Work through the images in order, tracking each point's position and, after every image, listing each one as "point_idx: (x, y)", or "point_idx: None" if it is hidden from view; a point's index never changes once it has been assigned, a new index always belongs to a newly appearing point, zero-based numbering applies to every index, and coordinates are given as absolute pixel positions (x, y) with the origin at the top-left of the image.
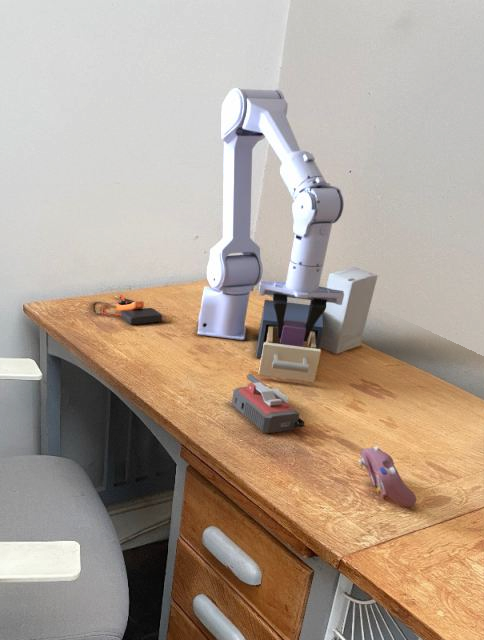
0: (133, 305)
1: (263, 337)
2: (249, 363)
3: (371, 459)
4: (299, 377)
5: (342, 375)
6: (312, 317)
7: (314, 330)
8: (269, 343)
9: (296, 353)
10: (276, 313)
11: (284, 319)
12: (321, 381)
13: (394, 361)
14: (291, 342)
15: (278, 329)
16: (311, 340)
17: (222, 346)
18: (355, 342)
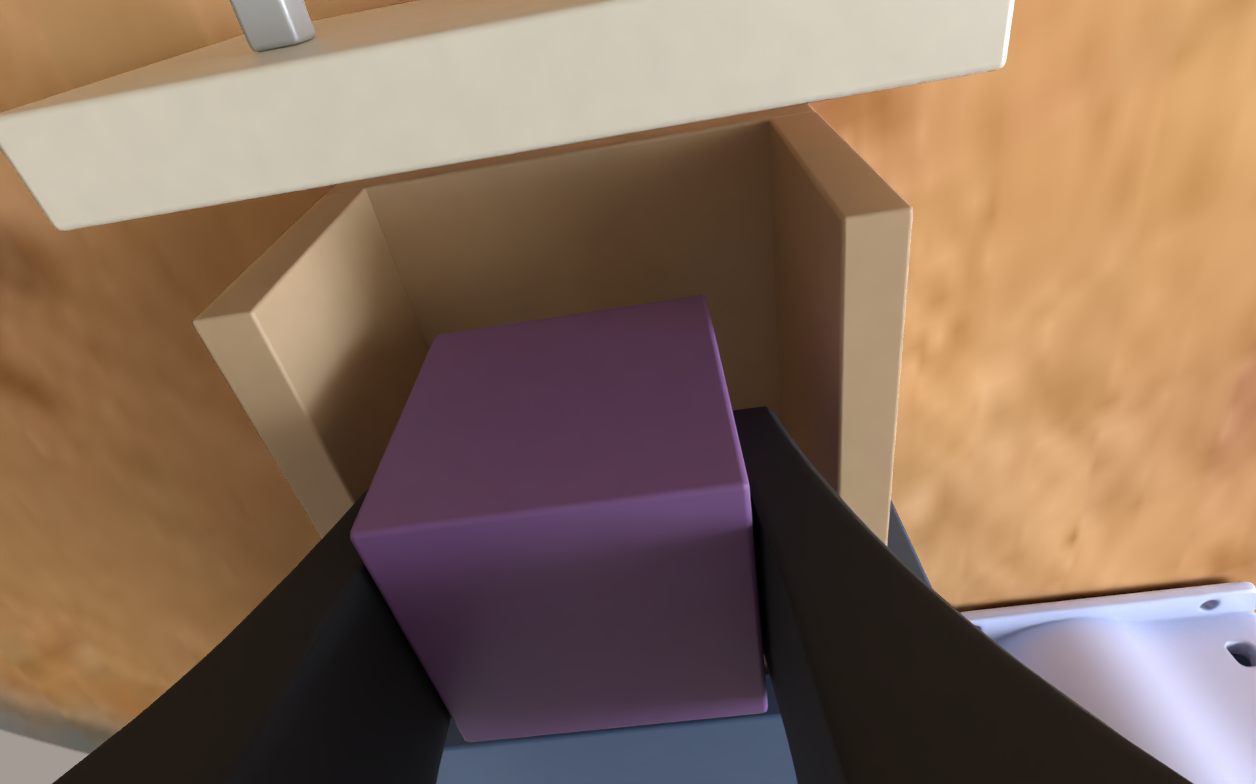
0: None
1: None
2: (906, 297)
3: None
4: (388, 8)
5: (194, 408)
6: (168, 779)
7: None
8: (907, 32)
9: (398, 30)
10: (1040, 680)
11: (744, 770)
12: (267, 217)
13: (75, 698)
14: (566, 358)
15: (807, 465)
16: (352, 503)
17: (1095, 494)
18: None
